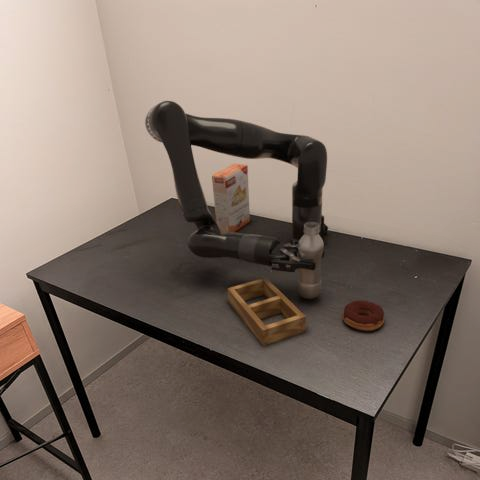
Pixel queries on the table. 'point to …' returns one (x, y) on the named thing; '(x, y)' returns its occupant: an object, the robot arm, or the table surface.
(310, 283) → the grey metal bottle
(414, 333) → the table surface
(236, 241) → the robot arm
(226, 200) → the cracker box
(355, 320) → the donut
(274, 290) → the caddy
